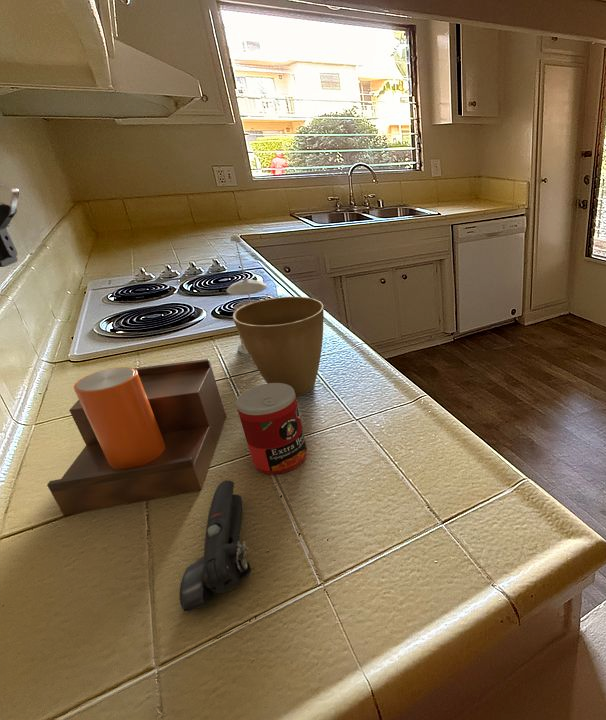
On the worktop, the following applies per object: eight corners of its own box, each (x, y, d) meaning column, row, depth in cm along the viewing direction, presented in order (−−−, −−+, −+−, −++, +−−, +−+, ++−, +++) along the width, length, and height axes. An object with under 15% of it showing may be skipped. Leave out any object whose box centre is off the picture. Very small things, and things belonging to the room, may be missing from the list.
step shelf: (63, 515, 60) (24, 445, 54) (119, 432, 76) (93, 372, 71) (201, 490, 64) (177, 422, 59) (226, 416, 80) (209, 358, 75)
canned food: (276, 482, 65) (258, 417, 60) (241, 463, 69) (223, 400, 64) (319, 453, 71) (306, 391, 66) (285, 437, 74) (271, 377, 69)
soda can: (100, 474, 61) (62, 395, 55) (119, 444, 66) (87, 370, 61) (157, 464, 62) (126, 387, 57) (171, 436, 68) (144, 363, 63)
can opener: (253, 603, 48) (241, 566, 46) (178, 625, 46) (160, 588, 44) (263, 491, 63) (253, 459, 61) (206, 504, 61) (193, 471, 59)
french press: (255, 334, 112) (229, 229, 100) (298, 338, 110) (277, 231, 98) (227, 352, 103) (196, 239, 92) (274, 356, 101) (248, 241, 90)
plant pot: (269, 418, 79) (247, 332, 72) (243, 385, 89) (222, 307, 82) (349, 389, 88) (337, 310, 81) (317, 362, 98) (304, 290, 91)
